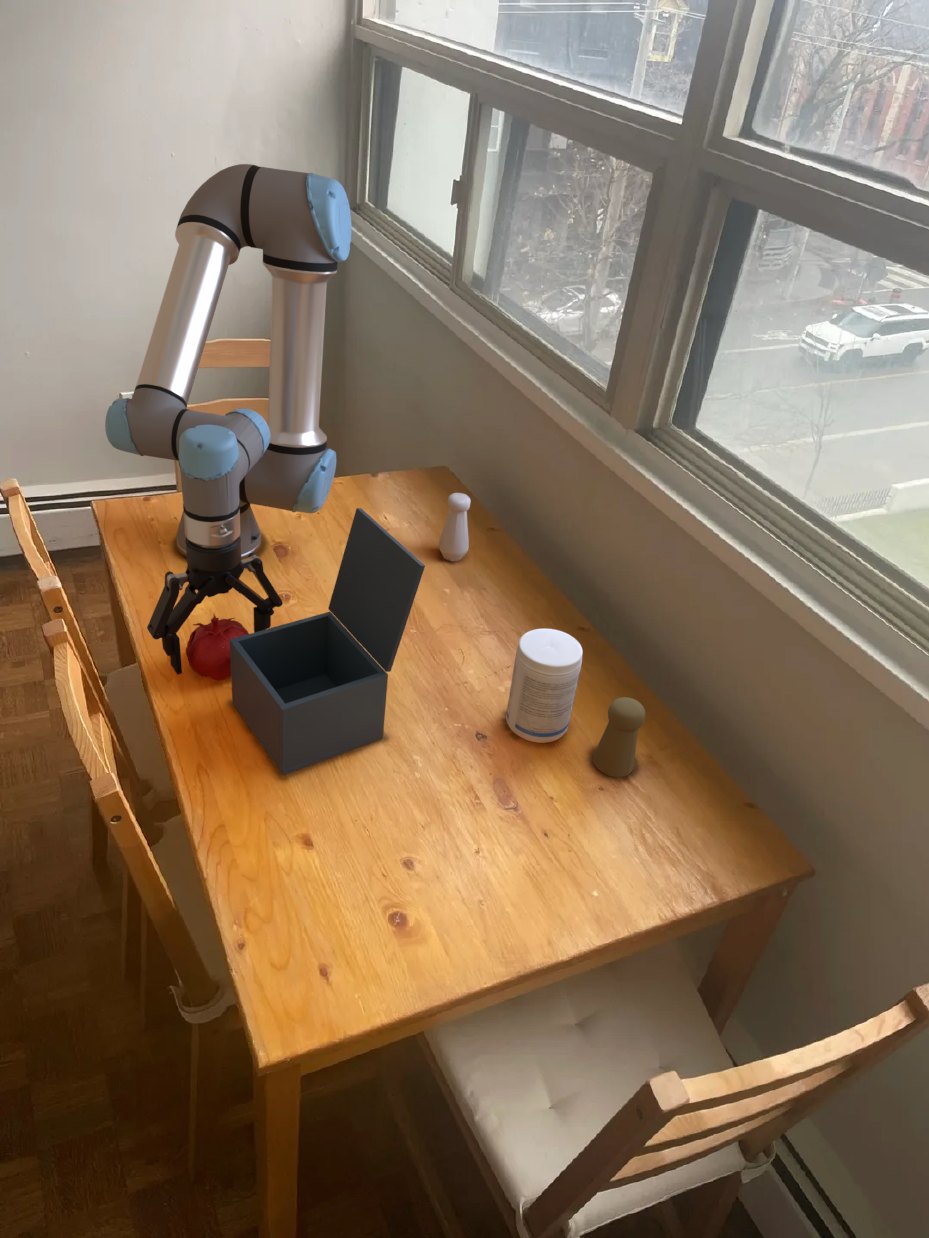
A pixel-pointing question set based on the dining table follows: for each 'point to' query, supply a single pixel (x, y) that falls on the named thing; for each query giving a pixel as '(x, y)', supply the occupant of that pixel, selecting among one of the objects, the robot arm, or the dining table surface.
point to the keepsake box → (307, 691)
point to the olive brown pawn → (619, 738)
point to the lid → (375, 588)
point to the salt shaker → (455, 528)
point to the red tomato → (213, 647)
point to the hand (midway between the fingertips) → (219, 657)
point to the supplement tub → (543, 685)
